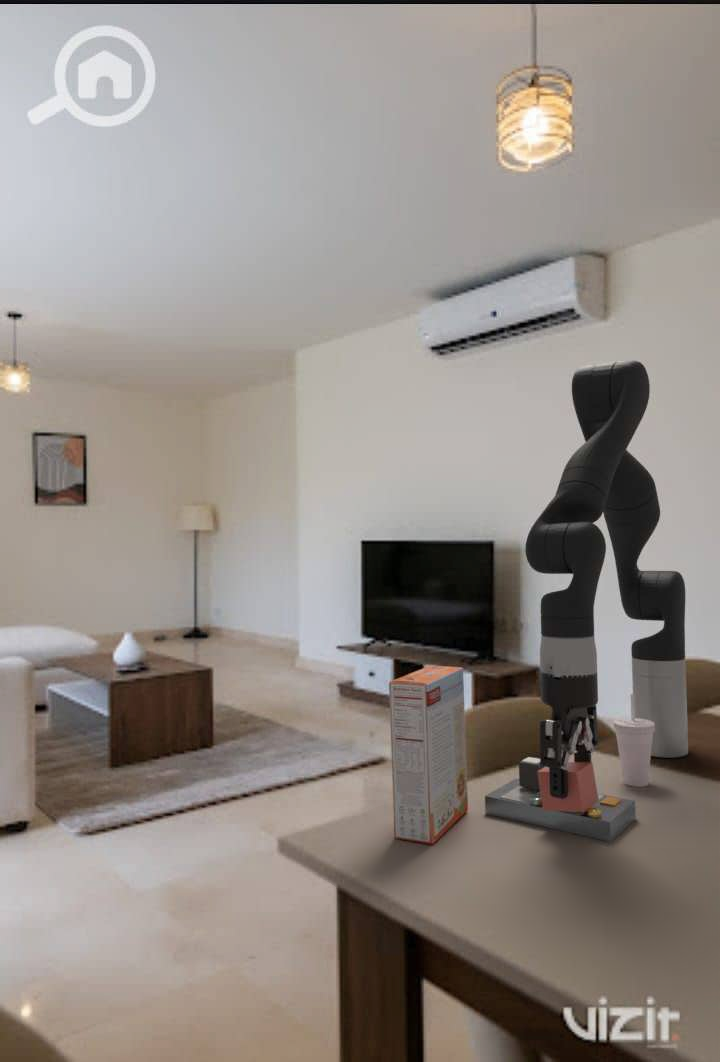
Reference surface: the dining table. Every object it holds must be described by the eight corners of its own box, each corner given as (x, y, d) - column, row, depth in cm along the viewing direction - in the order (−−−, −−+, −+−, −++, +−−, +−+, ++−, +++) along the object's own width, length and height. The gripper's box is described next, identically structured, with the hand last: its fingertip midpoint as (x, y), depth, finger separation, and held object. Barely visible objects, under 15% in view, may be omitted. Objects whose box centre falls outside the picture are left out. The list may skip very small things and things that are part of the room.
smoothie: (650, 777, 122) (648, 691, 122) (662, 789, 115) (659, 699, 116) (610, 776, 122) (608, 691, 123) (619, 789, 116) (617, 699, 116)
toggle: (528, 780, 112) (527, 756, 112) (547, 784, 110) (546, 759, 110) (519, 786, 110) (518, 760, 110) (538, 789, 108) (537, 764, 108)
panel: (516, 794, 114) (515, 773, 114) (635, 818, 103) (634, 794, 103) (485, 813, 106) (484, 790, 106) (610, 841, 95) (610, 815, 95)
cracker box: (430, 806, 110) (427, 664, 111) (469, 812, 107) (466, 666, 108) (389, 839, 98) (386, 679, 98) (432, 846, 95) (429, 682, 95)
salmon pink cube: (560, 798, 105) (554, 761, 105) (598, 800, 101) (592, 762, 102) (543, 810, 100) (537, 771, 101) (583, 812, 97) (576, 772, 97)
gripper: (562, 660, 109) (565, 771, 109) (519, 673, 98) (522, 797, 98) (613, 664, 105) (616, 780, 104) (574, 678, 93) (578, 809, 93)
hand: (571, 788), depth 101 cm, fingers open, 8 cm apart
